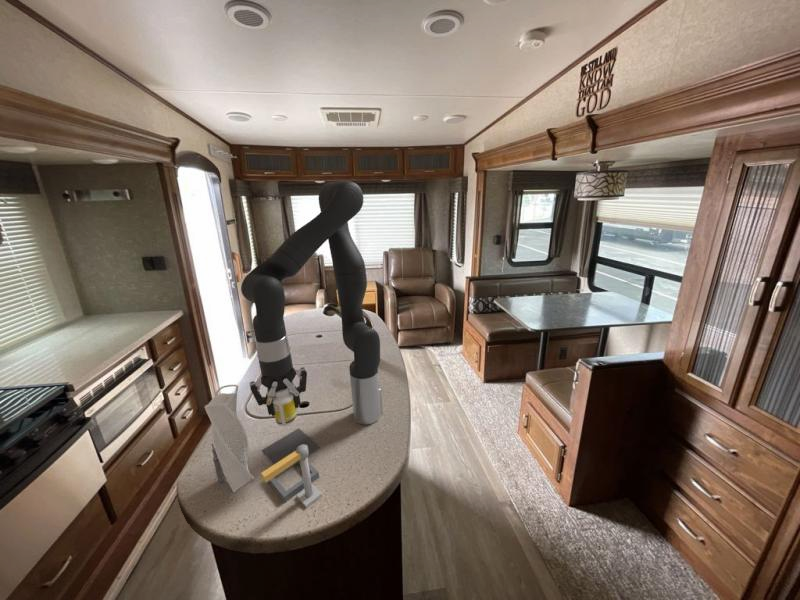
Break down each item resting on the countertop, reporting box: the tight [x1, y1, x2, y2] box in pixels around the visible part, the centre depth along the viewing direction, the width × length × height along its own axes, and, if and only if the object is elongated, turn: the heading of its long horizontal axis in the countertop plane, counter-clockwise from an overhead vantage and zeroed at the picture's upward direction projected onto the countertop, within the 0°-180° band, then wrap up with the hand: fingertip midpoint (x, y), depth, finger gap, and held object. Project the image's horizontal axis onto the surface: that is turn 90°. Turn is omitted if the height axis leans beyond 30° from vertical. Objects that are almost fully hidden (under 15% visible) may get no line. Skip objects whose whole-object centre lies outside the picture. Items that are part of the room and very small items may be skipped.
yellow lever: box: [260, 444, 309, 483], centre depth 71 cm, size 11×3×2 cm, turn 138°
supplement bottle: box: [272, 388, 298, 427], centre depth 82 cm, size 5×5×10 cm
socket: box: [267, 456, 323, 509], centre depth 79 cm, size 10×15×13 cm, turn 47°
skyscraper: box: [204, 384, 255, 498], centre depth 79 cm, size 8×8×28 cm
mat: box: [262, 428, 321, 465], centre depth 93 cm, size 12×12×1 cm
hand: (284, 409), depth 82 cm, fingers closed on supplement bottle, 5 cm apart
